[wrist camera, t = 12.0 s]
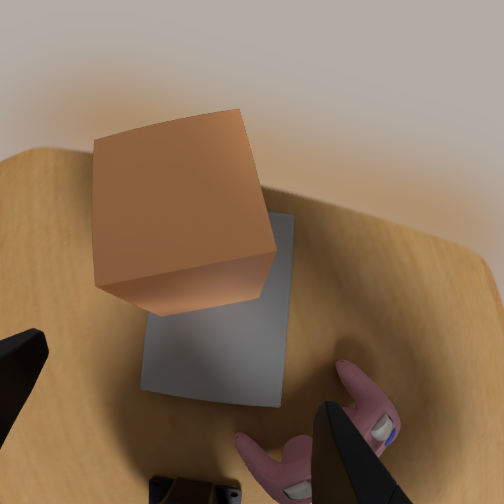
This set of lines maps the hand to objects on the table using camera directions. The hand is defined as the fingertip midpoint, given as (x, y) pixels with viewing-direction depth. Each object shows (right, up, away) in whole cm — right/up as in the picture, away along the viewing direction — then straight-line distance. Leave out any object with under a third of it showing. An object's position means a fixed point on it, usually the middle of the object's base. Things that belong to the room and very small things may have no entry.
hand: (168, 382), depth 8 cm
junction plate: (0, 0, +13) cm, 13 cm away
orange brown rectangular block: (-1, +3, +12) cm, 13 cm away
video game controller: (+7, -8, +11) cm, 15 cm away
